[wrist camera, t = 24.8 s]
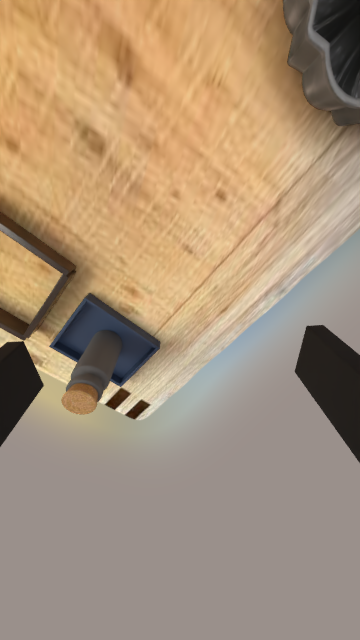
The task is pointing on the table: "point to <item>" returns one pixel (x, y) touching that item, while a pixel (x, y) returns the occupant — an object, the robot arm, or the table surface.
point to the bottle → (92, 373)
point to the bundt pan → (327, 54)
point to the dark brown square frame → (49, 256)
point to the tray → (102, 317)
